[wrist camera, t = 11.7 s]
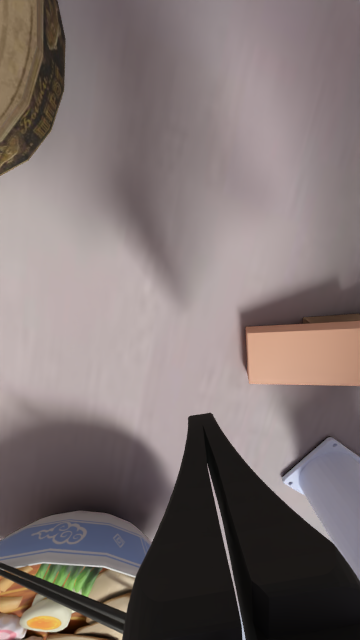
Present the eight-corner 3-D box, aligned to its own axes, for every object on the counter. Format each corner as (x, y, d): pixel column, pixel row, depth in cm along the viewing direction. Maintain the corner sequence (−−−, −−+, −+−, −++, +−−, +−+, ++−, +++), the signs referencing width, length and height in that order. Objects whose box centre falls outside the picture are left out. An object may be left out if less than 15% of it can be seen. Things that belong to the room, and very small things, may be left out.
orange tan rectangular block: (245, 326, 18) (363, 320, 15) (247, 373, 19) (355, 374, 17) (247, 333, 16) (377, 327, 14) (249, 383, 18) (367, 385, 15)
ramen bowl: (-57, 532, 23) (-174, 673, 15) (73, 421, 20) (9, 527, 12) (104, 604, 29) (80, 731, 21) (222, 529, 26) (246, 646, 18)
